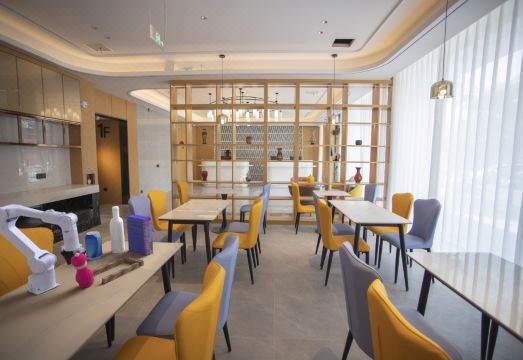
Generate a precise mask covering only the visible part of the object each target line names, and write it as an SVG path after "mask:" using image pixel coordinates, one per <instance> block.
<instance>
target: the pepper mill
mask: <svg viewBox="0 0 523 360" xmlns="http://www.w3.org/2000/svg"><path fill="white" fill-rule="evenodd" d="M75 253H76V252H75ZM87 260H88V258H87V257H86V254H85V255H84V254H82V253H76V254H75V255H74V256H73V257H72V258H71V264H70V265H71V266H73V269H75V270H76V273H75V282H76V283H77V284H78V287H80V288H88V287H90V286H91V285H92V284H94V282H95V277H94V276H93V272H92V269H91V268H89V267H88V262H87Z"/></svg>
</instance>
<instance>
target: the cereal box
mask: <svg viewBox="0 0 523 360" xmlns="http://www.w3.org/2000/svg"><path fill="white" fill-rule="evenodd" d="M152 222H153V221H152V217H150V216H146V215H145V216H144V215H138V214H129V215H126V227H127V228H126V229H127V244H128V245H127V246H128V252H131V253H135V254H138V255H142V256H147V257H148V256H150V255H153V254H154V246H153V245H154V242H153V227H152V226H153V225H152V224H153V223H152Z"/></svg>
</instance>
